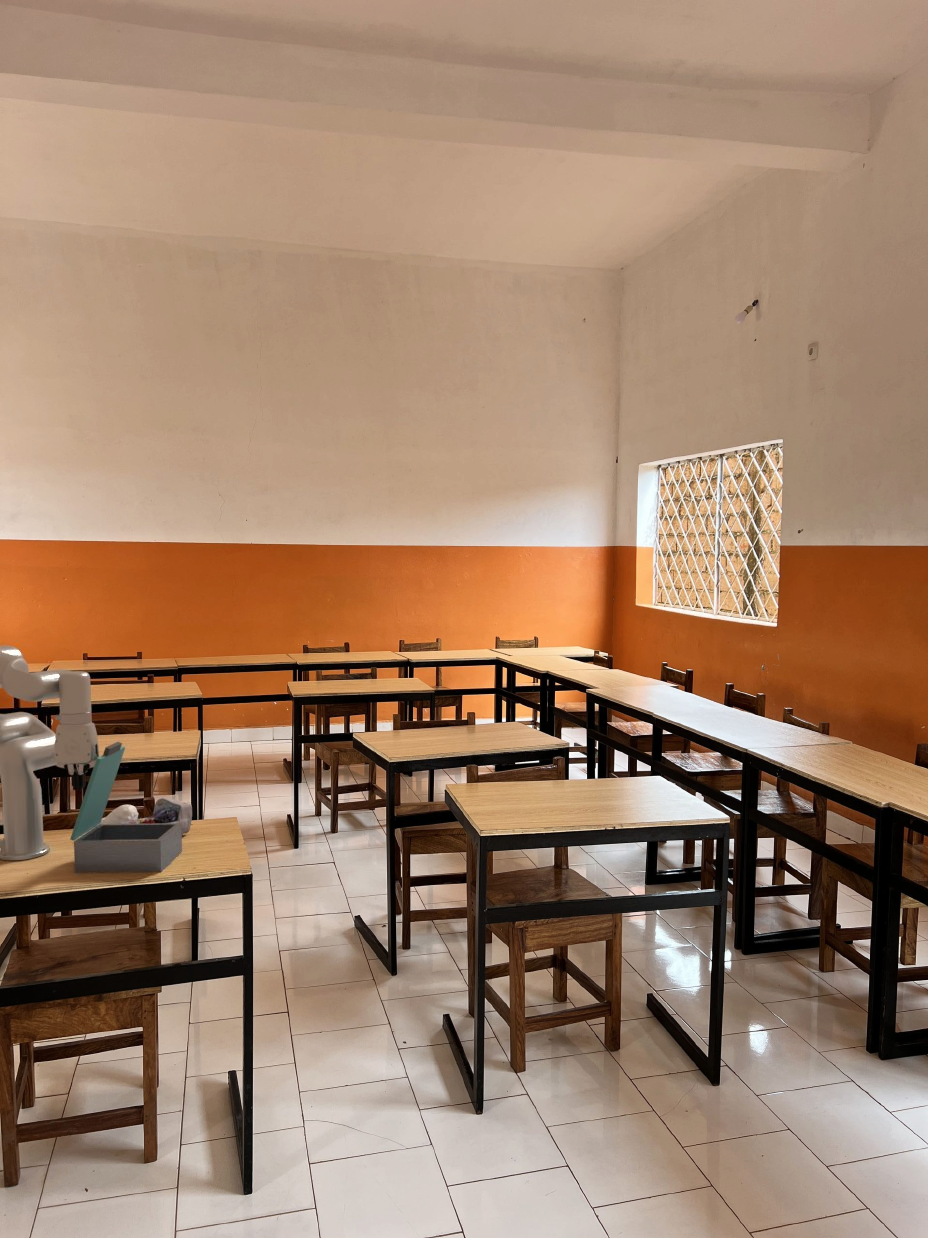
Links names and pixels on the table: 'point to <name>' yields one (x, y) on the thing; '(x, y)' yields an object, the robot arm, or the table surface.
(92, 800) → the lid
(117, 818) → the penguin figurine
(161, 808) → the cell model
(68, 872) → the table surface
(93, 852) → the grey storage box
